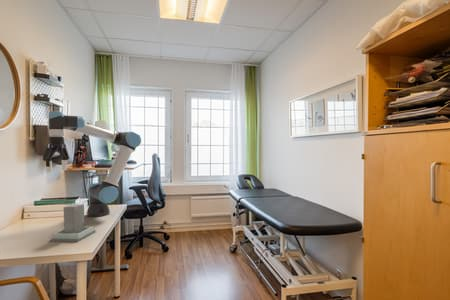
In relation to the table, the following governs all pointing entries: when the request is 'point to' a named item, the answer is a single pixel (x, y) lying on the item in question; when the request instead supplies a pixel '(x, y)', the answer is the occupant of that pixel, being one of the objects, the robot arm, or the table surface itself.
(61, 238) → the tray
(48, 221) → the table surface
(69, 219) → the skincare box
